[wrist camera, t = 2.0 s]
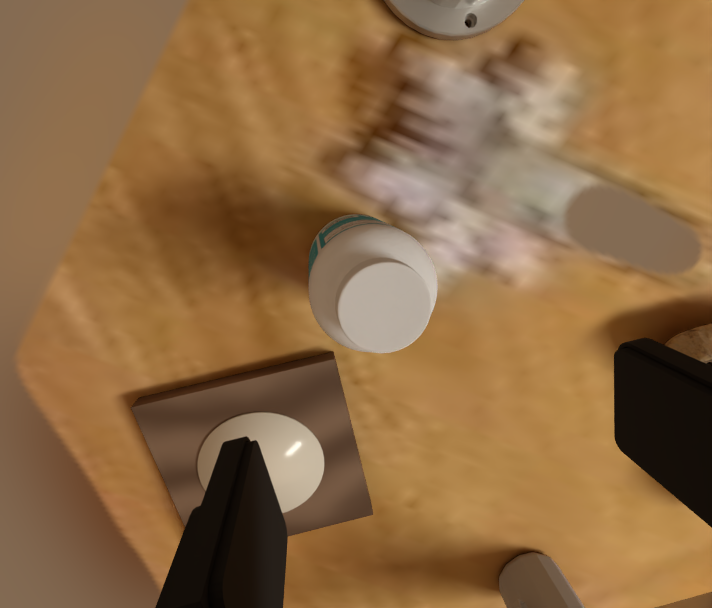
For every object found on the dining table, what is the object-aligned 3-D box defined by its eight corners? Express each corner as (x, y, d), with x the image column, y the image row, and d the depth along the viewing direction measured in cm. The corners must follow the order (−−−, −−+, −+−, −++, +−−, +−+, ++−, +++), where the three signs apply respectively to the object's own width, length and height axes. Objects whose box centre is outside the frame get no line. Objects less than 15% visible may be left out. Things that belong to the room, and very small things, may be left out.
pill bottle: (366, 318, 33) (401, 404, 20) (291, 274, 31) (277, 336, 18) (417, 245, 32) (489, 286, 19) (341, 193, 30) (363, 200, 17)
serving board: (138, 397, 33) (129, 408, 31) (333, 351, 34) (334, 360, 32) (203, 544, 38) (198, 560, 37) (371, 502, 39) (373, 516, 37)
